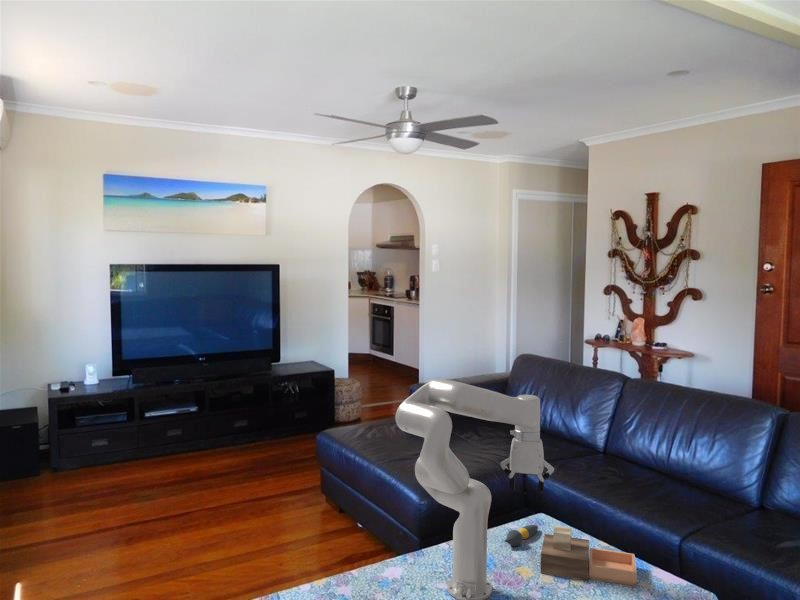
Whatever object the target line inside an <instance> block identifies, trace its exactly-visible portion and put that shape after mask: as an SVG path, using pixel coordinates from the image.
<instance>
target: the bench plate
mask: <svg viewBox="0 0 800 600" xmlns="http://www.w3.org/2000/svg"><path fill="white" fill-rule="evenodd" d="M589 556H590V539H586V538H579V537H578V538H577V537H572V536H571V550H570V551H567V550H560V549H553V534H550V533H544V537H543V542H542V546H541V552H540V574H545V575H549V576H557V577H563V578H570V579H577V580H583V581H589Z"/></svg>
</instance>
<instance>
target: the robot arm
mask: <svg viewBox="0 0 800 600" xmlns="http://www.w3.org/2000/svg"><path fill="white" fill-rule="evenodd" d="M448 412H449V413H452V414H457V415H460V416H461V415H462V416H466V417H472V418H475V419H480V420H485V421H489V422H496V423H497V422H498V423H504V424H509V425H514V429H513V430H512V429H510V431H509V432H510V434H509V435H512V436H514V437H513V438H512V440H511V445H510V452H509V457H508V458H506V459H504V460H502V461H501V462H500V463H499V465H500V467H501V468H502V470H503V472H504V473H505V474H506V476H508V478H509V488H511V492H515V490H516V476H515V474H516V473H517V474H518V473H519V474H527V475H536V476H537V478H538V486H537V487H538V489H537V490H538V495H542V492H544V490H545V481H546V480H547V479H548V478H549V477H551V475H552V474H553V473H554V472H555V468H554V467H553V466H552V465H551V464H550V463H548V462H547V461H546V460H545V457H544V456H545V455H544V454H545V453H544V446H543V445H544V444H543V441H542V438H541V436H540V435H541V399H540V397H538V396H537V395H533V394H520V395H517V396H510V395H507V394H504V393H500V392H498V391H494V390H490V389H487V388H483V387H480V386H476V385H471V384H467V383H464V382H461V381H460V382H459V381H455V380H449V379H445V378H444V379H443V378H434V379H433V378H432V379H431V380H428V382H426V383H425V384H424V385H422V386H421V387H419V388H417V390H415V391H414V392H413V393H412V394H410V396H408V397H407V398H405V400H403V401H402V403H400V404H399V406H398V407H397V410H396V412H395V417H394V418H395V422H396V426H397V427H398V428H399V429H400V430H401V431H403V432H406V433H407V434H412V435H414V436H418V437H421V438H423V445H422V449H421V451H420V454H419V457H418V458H417V460H416V461H415V465H414V472H415V473H414V474H415V478H416V481H417V482H418V483H419V485H420V486H421V487H422V488H423V489H424V490H425V491H426V492H427V494H429V495H430V496H431V498H433V499H434V501H436V502H438V504H441V505H442V506H445V507H448V508H449V509H453V510H454V511H456V512H458V513H459V515H458V518H457V519H456V520H455V522H454V523H453V528H452V529H453V530H452V578H450V579H449V580H448V582H447V585H446V586H447V592H448V593H449V595H451V596H452V597H453V598H454V599H456V600H486V599H489V598H490V596H491V595H492V593H493V586H492V584H491V582H490V581H489V580H488V579H487V577H488V575H487V574H488V573H487V572H488V570H487V568H488V519H489V515H490V514H489V513H490V509H491V503H492V494H491V491H490V489H489V487H487V485H485V484H484V482H483V483H482V482H481V481H479V480H476V479H473V478H471V477H470V475H469V474H470V473H469V471H468V470H467V467H465V465H464V464H463V463H462V462H461V460H460V459H459V458H458V457H457V456H456V455H455V454H454V452H453V451H452V449H451V448H450V441H451V436H452V435H451V434H452V430H453V422H452V418H451V416H450V414H449V413H448ZM508 464H509V467H508V466H507V465H508ZM544 468H546V469H547V471H546V472H545V473H543V472H544Z"/></svg>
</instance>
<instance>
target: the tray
mask: <svg viewBox="0 0 800 600" xmlns="http://www.w3.org/2000/svg"><path fill="white" fill-rule="evenodd" d="M636 562H637V561H636V557H635V553H632V552H631V553H630V552H622V551H617V550H609V549H601V548H594V547H589V571H588V580H593V581H598V582H606V583H612V584H618V585H626V586H631V587H637V583H638V576H637V575H638V573H637V564H636Z"/></svg>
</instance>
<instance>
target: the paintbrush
mask: <svg viewBox="0 0 800 600" xmlns="http://www.w3.org/2000/svg"><path fill="white" fill-rule="evenodd" d="M538 529H539V527H538V525H536V524H529V525H525V526H522V527H521V528H520V529H519V530H516V529H511V530H509V531H508V532H507V534H506V538H505V539H504V542H505V543H507V544H508V545H509V546H512V547H518V546H520V545H521V544H522V543H523V542H522V541H523V540H527V539H528V538H531V537H532V536H534V535H535V534H536V533H537V532H538Z"/></svg>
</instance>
